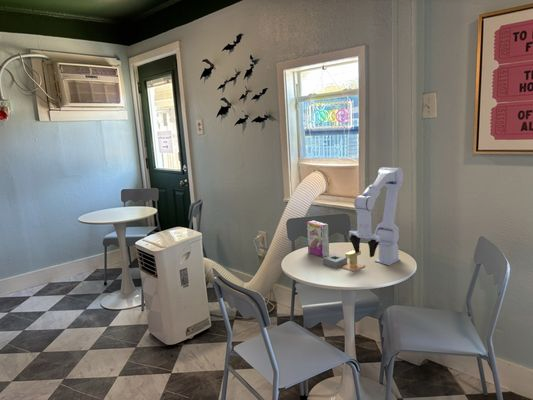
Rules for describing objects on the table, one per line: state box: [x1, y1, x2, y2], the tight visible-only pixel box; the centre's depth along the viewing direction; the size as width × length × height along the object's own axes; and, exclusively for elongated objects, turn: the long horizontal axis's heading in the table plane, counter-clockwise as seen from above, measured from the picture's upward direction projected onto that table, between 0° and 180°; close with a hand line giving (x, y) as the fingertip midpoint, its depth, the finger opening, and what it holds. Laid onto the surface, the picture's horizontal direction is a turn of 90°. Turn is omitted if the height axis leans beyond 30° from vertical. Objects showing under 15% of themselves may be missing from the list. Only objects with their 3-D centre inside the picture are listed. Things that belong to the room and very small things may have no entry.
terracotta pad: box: [341, 262, 366, 273], centre depth 177 cm, size 8×7×1 cm
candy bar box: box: [306, 220, 330, 258], centre depth 196 cm, size 11×5×16 cm, turn 34°
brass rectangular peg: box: [345, 249, 362, 268], centre depth 177 cm, size 8×2×7 cm, turn 131°
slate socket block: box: [322, 253, 348, 269], centre depth 183 cm, size 8×8×3 cm
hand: (364, 254), depth 166 cm, fingers open, 7 cm apart
